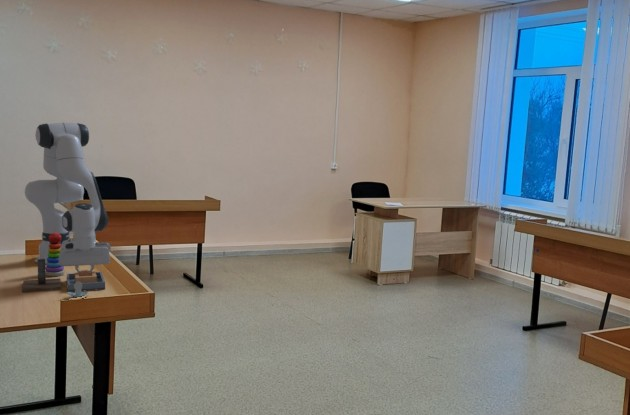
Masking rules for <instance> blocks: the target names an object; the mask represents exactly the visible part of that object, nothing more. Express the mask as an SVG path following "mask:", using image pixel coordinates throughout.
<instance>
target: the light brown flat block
mask: <svg viewBox="0 0 630 415" xmlns="http://www.w3.org/2000/svg"><path fill="white" fill-rule="evenodd" d="M80 271H82V272H79V273H78V272H74V273H75V283H76V282H81V283H92V282H97V276H96V272H97V271H92V272H88V271H89V270H88V269H81V270H80Z"/></svg>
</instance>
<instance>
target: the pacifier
mask: <svg viewBox="0 0 630 415" xmlns="http://www.w3.org/2000/svg"><path fill="white" fill-rule="evenodd" d="M74 288H75V291H74V292H68V291H67V294H68V295H69V296H70V297H69V298H77V297H82V296H87V294H89V291H81V288H82V283H81V282H76V283H75V284H74Z"/></svg>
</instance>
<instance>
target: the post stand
mask: <svg viewBox="0 0 630 415" xmlns="http://www.w3.org/2000/svg"><path fill="white" fill-rule="evenodd" d="M45 267H46V264H45V259H38V262H37V279H28V280H27V279H26V280H23V282H22V288H21V291H22V293H32V292H34V293H35V292H48V291H49V292H50V291H61V290H62V284H61V283H62V282H61V278H60V277H59V278H46V277H47V275H45V271H46V270H45Z"/></svg>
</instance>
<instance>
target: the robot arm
mask: <svg viewBox="0 0 630 415" xmlns="http://www.w3.org/2000/svg"><path fill="white" fill-rule="evenodd" d="M35 140H36V142H37V145H38V146H39V147H41V148H43V163H42V164H43V170H44V171H45V172H46V173H47V174H49V175H51V176H53V177H55V178H56V179H38V180H34V181H33V180H32V181H29V182H28V183H27V184H26V186H25V188H24V195H25V197H26V199H27V201H28V202H29V203H31V204H33V205H34V206H35V207H36V208H37V209H38V211H39V213H40V215H41V219H42V220H41V221H42V232H41V233H42V234H41V238H42V241H41V242H40V243H39V245H38V256H37V257H36V258H35V259H34V263H38V259H45V265H46V263H47V262H48V261H47V258H48V253H49V252H48V249H49V244H50V243H51V242H50V241H49V236H50V234H51V233H54V232H57V233H59V234H60V235H61V241H60V242H59V243H60V244H61V247H60V248H61V250H60V253H59V265H60V266H64V267H74V270H75V271H76V273H79V272H82V271H81V270H80V269H79V266H90V269H89V270H88V272H94V271H93V270H94V269H95V265H109V264H110V262H111V254H110V252H111V249H112V248H111V244H110V243H109V242H107V241H103V242H101V241H99V242H98V241H96V232H102V231H103V230H104V229H105V228H106V227H107V226H108V224H109V217H108V213H107V211H106V208H105V206H104V203H103V198H102V196H101V192H100V189H99V185H98V182H97V179H96V177H95V174H94V173H93V172H92V171H90V170H89V169H88V167H87V165H86V163H85V156H84V151H83V147H86V146H87V145H88V143H89V141H90V132H89V129H88V126H87V125H86V124H83V123H79V122H77V123H73V122H60V123H59V122H58V123H57V122H56V123H42V124H39V125H38V126H37V127H36V131H35ZM85 190H86V191H87V194H88V197H89V202H90V203H85V202H84V203H83V202H81V203H76V204H75V205H74V206H73V208H71V209H69V210H67V211H65V212H64V211H63V210H60V209H57V208H56V207H55V204H62V203H63V204H64V203H74V202H79V201H80V200H81V199H82V198H83V197H84V194H85ZM70 233H73V234H72V238H70V237H71V234H70Z"/></svg>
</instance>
